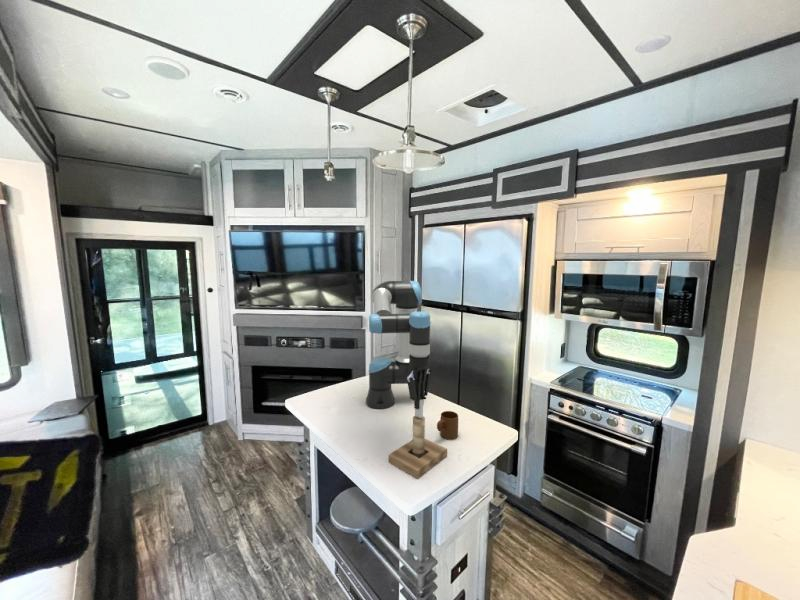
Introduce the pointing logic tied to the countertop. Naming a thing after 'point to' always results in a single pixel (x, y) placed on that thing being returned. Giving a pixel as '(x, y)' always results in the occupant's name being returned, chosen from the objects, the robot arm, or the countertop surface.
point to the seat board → (416, 465)
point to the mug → (448, 425)
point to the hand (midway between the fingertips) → (418, 415)
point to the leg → (418, 436)
